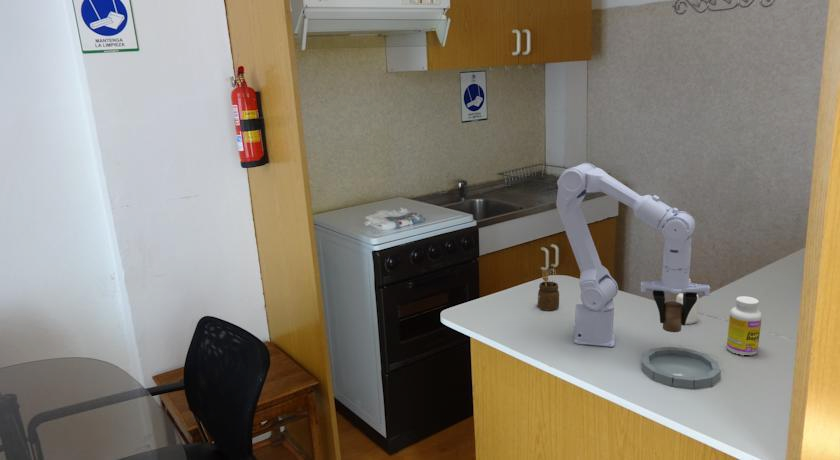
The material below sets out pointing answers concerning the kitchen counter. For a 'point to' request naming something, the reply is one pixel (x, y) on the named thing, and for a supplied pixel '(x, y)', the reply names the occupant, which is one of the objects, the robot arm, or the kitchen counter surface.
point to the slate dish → (680, 367)
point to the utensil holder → (548, 294)
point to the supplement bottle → (744, 326)
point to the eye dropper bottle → (693, 312)
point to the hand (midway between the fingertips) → (672, 322)
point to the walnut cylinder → (672, 316)
